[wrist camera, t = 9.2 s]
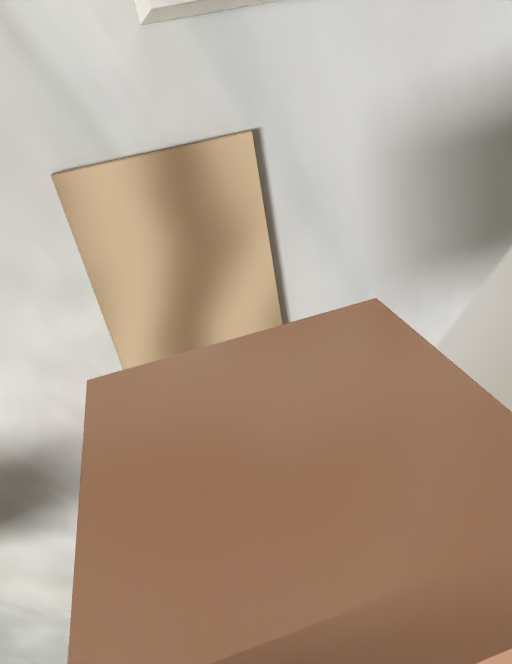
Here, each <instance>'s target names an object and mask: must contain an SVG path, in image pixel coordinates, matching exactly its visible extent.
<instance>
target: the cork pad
mask: <svg viewBox="0 0 512 664" xmlns="http://www.w3.org/2000/svg"><path fill="white" fill-rule="evenodd" d="M51 177H52V180H53V182H54V185H55V188H56V190H57V193H58V196H59V198H60V201H61V204H62V207H63V209H64V212H65V215H66V217H67V220H68V223H69V225H70V228H71V231H72V233H73V236H74V239H75V242H76V244H77V247H78V250H79V252H80V255H81V258H82V260H83V263H84V266H85V268H86V271H87V274H88V277H89V279H90V282H91V285H92V287H93V290H94V293H95V295H96V298H97V301H98V303H99V306H100V309H101V312H102V314H103V317H104V320H105V322H106V325H107V328H108V330H109V333H110V336H111V339H112V341H113V344H114V347H115V349H116V352H117V355H118V357H119V360H120V363H121V365H122V368H123V370H125V369H129V368H132V367H136V366H139V365H143V364H146V363H150V362H153V361H157V360H160V359H164V358H167V357H171V356H174V355H178V354H181V353H185V352H188V351H192V350H195V349H199V348H203V347H206V346H210V345H213V344H217V343H220V342H224V341H227V340H231V339H234V338H238V337H241V336H245V335H248V334H252V333H255V332H259V331H262V330H266V329H269V328H273V327H276V326H280V325H283V324H282V318H281V311H280V305H279V299H278V292H277V286H276V280H275V273H274V267H273V261H272V255H271V248H270V242H269V236H268V229H267V223H266V217H265V211H264V204H263V198H262V192H261V185H260V179H259V173H258V167H257V160H256V154H255V148H254V141H253V135H252V131H244V132H240V133H235V134H231V135H226V136H221V137H217V138H212V139H208V140H203V141H199V142H194V143H190V144H185V145H180V146H176V147H171V148H167V149H162V150H158V151H153V152H149V153H144V154H139V155H135V156H130V157H126V158H121V159H117V160H112V161H108V162H103V163H98V164H94V165H89V166H85V167H80V168H76V169H71V170H67V171H62V172H57V173H53V174H52V175H51Z"/></svg>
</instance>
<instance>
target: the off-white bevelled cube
mask: <svg viewBox="0 0 512 664" xmlns="http://www.w3.org/2000/svg"><path fill="white" fill-rule="evenodd" d="M271 1H277V0H134V2H135V6H136V10H137V14H138V18H139V22H140V25H144V24H150V23H155V22H161V21H166V20H172V19H177V18H183V17H188V16H194V15H199V14H205V13H211V12H216V11H222V10H227V9H233V8H238V7H244V6H249V5H255V4H260V3H266V2H271Z"/></svg>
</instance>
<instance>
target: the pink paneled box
mask: <svg viewBox="0 0 512 664" xmlns="http://www.w3.org/2000/svg"><path fill="white" fill-rule="evenodd" d="M68 664H512V412H511V411H510V410H509V409H507V408H506V407H505V406H504V405H502V404H501V403H500V402H499V401H498V400H497V399H495V398H494V397H493V396H492V395H491V394H490V393H488V392H487V391H486V390H485V389H484V388H482V387H481V386H480V385H479V384H478V383H477V382H475V381H474V380H473V379H472V378H471V377H469V376H468V375H467V374H466V373H465V372H463V371H462V370H461V369H460V368H459V367H458V366H456V365H455V364H454V363H453V362H452V361H450V360H449V359H447V357H446V356H444V355H443V354H442V353H441V352H440V351H439V350H437V349H436V348H435V347H434V346H433V345H431V344H430V343H429V342H428V341H427V340H425V339H424V338H423V337H422V336H421V335H420V334H418V333H417V332H416V331H415V330H414V329H412V328H411V327H410V326H409V325H408V324H406V323H405V322H404V321H403V320H402V319H401V318H399V317H398V316H397V315H396V314H395V313H393V312H392V311H391V310H390V309H389V308H387V307H386V306H385V305H384V304H383V303H382V302H380V301H379V300H378V299H377V298H375V299H371V300H368V301H364V302H361V303H357V304H354V305H350V306H347V307H343V308H340V309H336V310H333V311H329V312H326V313H322V314H319V315H315V316H311V317H308V318H304V319H301V320H297V321H294V322H290V323H287V324H283V325H280V326H276V327H273V328H269V329H266V330H262V331H259V332H255V333H252V334H248V335H245V336H241V337H238V338H234V339H231V340H227V341H224V342H220V343H217V344H213V345H210V346H206V347H203V348H199V349H195V350H192V351H188V352H185V353H181V354H178V355H174V356H171V357H167V358H164V359H160V360H157V361H153V362H150V363H146V364H143V365H139V366H136V367H132V368H129V369H125V370H122V371H118V372H115V373H111V374H108V375H104V376H101V377H97V378H94V379H90V380H87V391H86V405H85V420H84V434H83V449H82V463H81V478H80V492H79V507H78V521H77V536H76V550H75V565H74V579H73V594H72V608H71V623H70V637H69V652H68Z"/></svg>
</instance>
